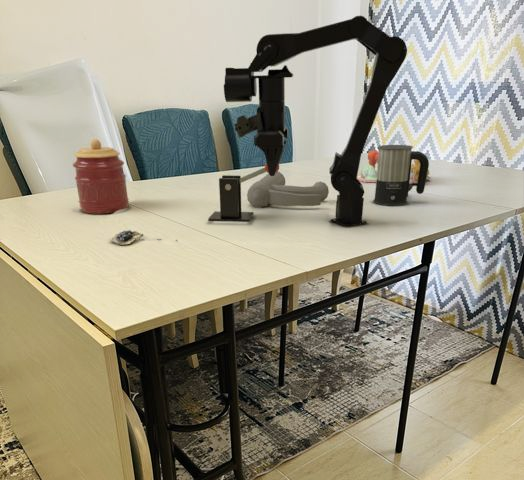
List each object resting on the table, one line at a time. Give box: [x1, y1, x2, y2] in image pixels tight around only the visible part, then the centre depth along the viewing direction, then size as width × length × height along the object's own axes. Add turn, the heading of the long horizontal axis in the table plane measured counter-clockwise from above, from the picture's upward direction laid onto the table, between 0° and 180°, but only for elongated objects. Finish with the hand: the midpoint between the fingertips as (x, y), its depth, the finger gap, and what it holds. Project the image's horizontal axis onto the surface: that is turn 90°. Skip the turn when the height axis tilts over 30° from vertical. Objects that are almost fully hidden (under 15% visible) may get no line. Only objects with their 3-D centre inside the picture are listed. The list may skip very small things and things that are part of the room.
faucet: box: [246, 171, 330, 208], centre depth 144 cm, size 7×21×26 cm
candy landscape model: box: [357, 149, 432, 184], centre depth 174 cm, size 25×24×9 cm
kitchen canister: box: [72, 138, 130, 215], centre depth 135 cm, size 13×13×18 cm
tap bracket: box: [207, 174, 254, 223], centre depth 125 cm, size 10×8×10 cm
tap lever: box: [233, 162, 280, 184], centre depth 122 cm, size 14×3×3 cm, turn 85°
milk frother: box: [373, 144, 430, 206], centre depth 144 cm, size 14×16×15 cm
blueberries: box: [110, 229, 144, 246], centre depth 112 cm, size 7×8×2 cm
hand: (272, 174), depth 121 cm, fingers closed on tap lever, 3 cm apart
